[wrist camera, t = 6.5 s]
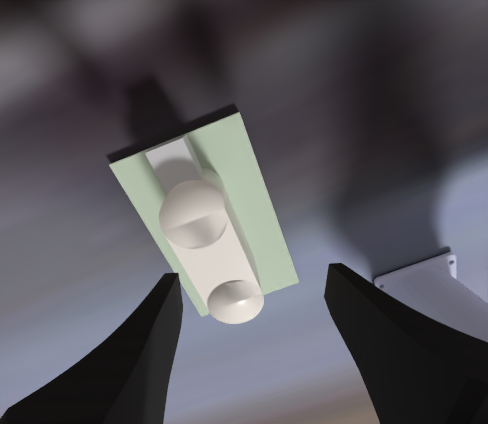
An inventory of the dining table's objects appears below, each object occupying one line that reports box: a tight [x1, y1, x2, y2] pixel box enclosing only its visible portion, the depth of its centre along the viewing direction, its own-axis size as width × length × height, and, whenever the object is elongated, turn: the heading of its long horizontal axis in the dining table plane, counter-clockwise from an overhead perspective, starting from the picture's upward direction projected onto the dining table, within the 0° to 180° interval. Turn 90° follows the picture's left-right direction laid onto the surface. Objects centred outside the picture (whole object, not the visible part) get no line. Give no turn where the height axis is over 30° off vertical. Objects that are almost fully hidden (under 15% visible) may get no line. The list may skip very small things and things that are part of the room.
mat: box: [109, 112, 299, 317], centre depth 22 cm, size 16×10×1 cm, turn 20°
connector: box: [145, 134, 264, 324], centre depth 19 cm, size 13×4×5 cm, turn 20°
